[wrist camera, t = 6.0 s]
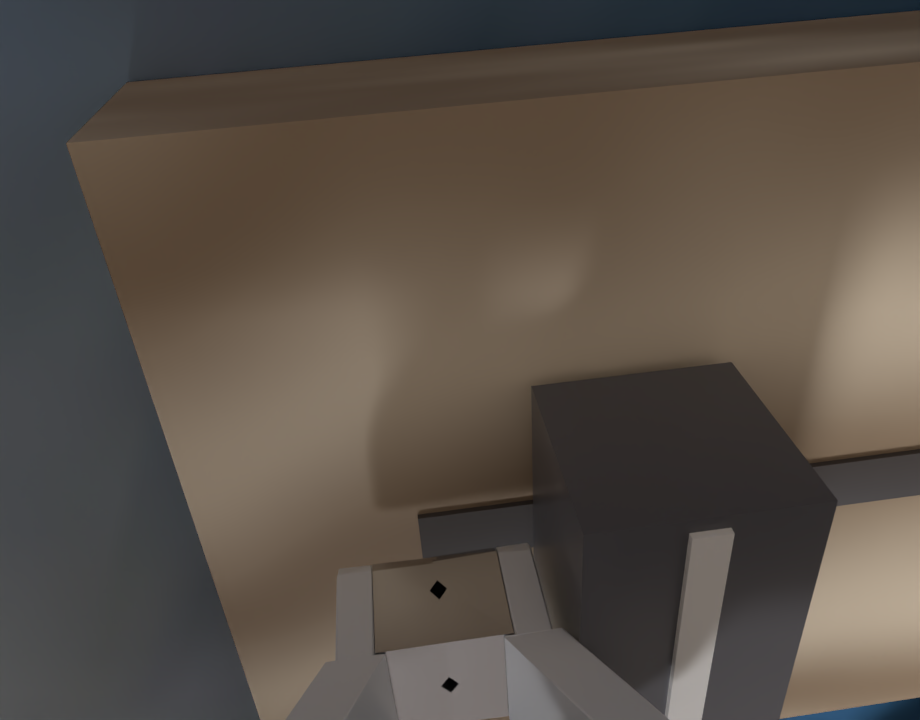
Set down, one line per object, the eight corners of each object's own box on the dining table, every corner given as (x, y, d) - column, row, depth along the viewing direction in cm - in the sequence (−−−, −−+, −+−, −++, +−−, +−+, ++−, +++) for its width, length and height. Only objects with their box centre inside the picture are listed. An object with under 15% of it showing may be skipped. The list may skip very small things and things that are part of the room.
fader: (691, 628, 15) (764, 791, 12) (535, 650, 15) (575, 821, 12) (731, 362, 12) (842, 505, 9) (531, 385, 11) (586, 541, 9)
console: (1272, 532, 21) (1403, 627, 18) (293, 672, 19) (285, 799, 17) (1681, -59, 13) (2003, -40, 11) (126, 82, 12) (63, 145, 9)
